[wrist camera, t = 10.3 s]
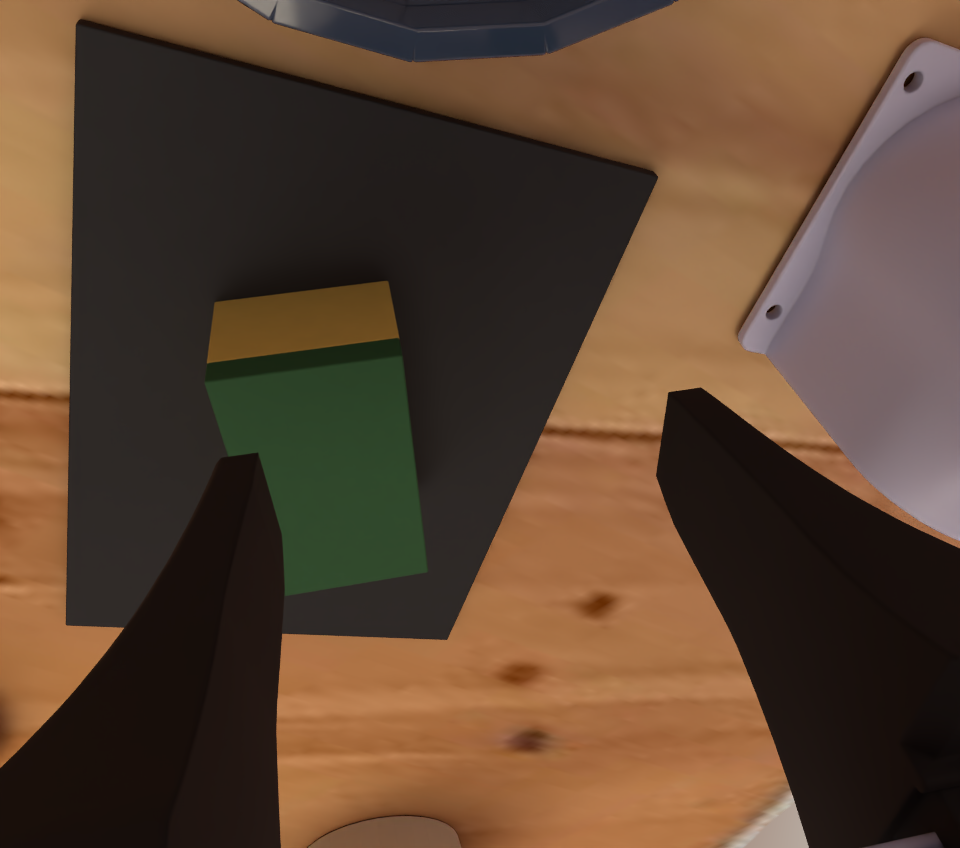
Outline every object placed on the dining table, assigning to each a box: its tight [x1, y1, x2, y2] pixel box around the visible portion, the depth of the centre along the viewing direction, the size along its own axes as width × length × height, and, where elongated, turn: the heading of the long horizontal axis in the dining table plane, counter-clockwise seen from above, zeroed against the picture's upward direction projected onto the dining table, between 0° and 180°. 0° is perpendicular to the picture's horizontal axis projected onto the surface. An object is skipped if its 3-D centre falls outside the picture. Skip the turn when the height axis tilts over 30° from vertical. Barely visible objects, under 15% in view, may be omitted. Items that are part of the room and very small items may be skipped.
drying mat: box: [66, 20, 658, 640], centre depth 25 cm, size 20×14×1 cm
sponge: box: [204, 281, 428, 596], centre depth 23 cm, size 8×5×4 cm, turn 2°
